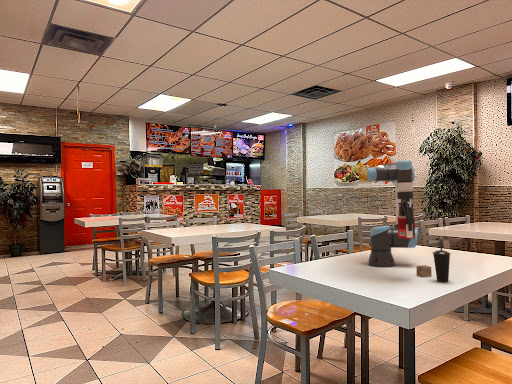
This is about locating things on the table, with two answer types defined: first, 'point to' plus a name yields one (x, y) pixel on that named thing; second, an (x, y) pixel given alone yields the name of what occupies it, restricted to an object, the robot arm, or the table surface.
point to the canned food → (404, 227)
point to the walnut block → (424, 271)
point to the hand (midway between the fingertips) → (406, 236)
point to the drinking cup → (442, 264)
